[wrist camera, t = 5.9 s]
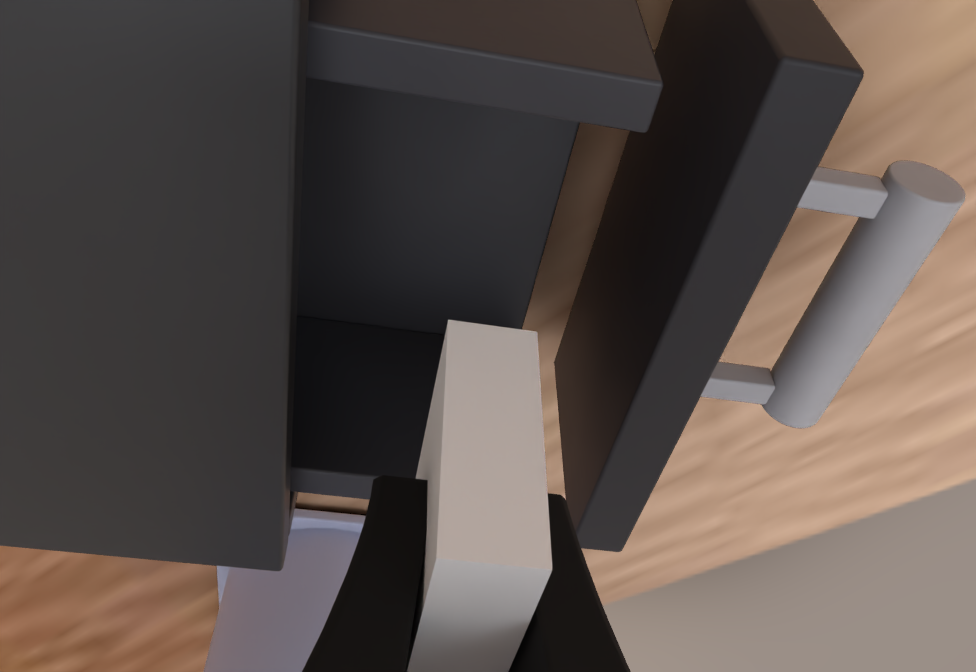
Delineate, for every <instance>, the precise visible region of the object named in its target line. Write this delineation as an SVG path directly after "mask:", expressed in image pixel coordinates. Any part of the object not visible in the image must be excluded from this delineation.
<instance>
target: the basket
mask: <svg viewBox="0 0 976 672" xmlns="http://www.w3.org/2000/svg"><path fill="white" fill-rule="evenodd" d="M863 74H864V71H863V69H862V68H861V67H860V65H859V64H858V62H857V61H856V60H855V58H854V57H853V55H852V54H851V53H850V51H849V50H848V48H847V47H846V46H845V44H844V43H843V42H842V40H841V39H840V37H839V36H838V35H837V33H836V32H835V30H834V29H833V28H832V26H831V25H830V23H829V22H828V21H827V19H826V18H825V16H824V15H823V14H822V12H821V11H820V9H819V8H818V7H817V5H816V4H815V2H814V1H813V0H673V1H672V4H671V7H670V10H669V13H668V16H667V19H666V22H665V25H664V28H663V31H662V34H661V37H660V40H659V44H658V47H657V50H656V53H655V56H654V53H653V50H652V47H651V44H650V41H649V38H648V35H647V32H646V29H645V26H644V23H643V19H642V16H641V13H640V10H639V7H638V4H637V1H636V0H309V15H308V41H307V67H306V93H305V119H304V145H303V170H302V196H301V222H300V248H299V274H298V300H297V326H296V352H295V378H294V404H293V429H292V455H291V481H290V491H294V492H303V493H313V494H322V495H332V496H341V497H351V498H361V499H370V497H371V490H372V484H373V479H375V478H377V477H379V476H382V475H387V476H396V477H405V478H414V479H415V478H416V474H417V469H418V464H419V459H420V454H421V449H422V444H423V440H424V435H425V430H426V425H427V420H428V415H429V410H430V406H431V401H432V396H433V391H434V386H435V381H436V376H437V371H438V367H439V362H440V357H441V352H442V347H443V342H444V337H445V333H446V328H447V323H448V320H455V321H462V322H470V323H477V324H484V325H492V326H499V327H506V328H514V329H521V330H522V327H523V323H524V320H525V316H526V312H527V309H528V305H529V302H530V298H531V295H532V291H533V288H534V284H535V280H536V277H537V273H538V270H539V266H540V263H541V259H542V256H543V252H544V248H545V245H546V241H547V238H548V234H549V231H550V227H551V223H552V220H553V216H554V213H555V209H556V206H557V202H558V199H559V195H560V191H561V188H562V184H563V181H564V177H565V174H566V170H567V167H568V163H569V159H570V156H571V152H572V149H573V145H574V142H575V138H576V134H577V131H578V127H579V124H580V122H581V123H587V124H593V125H599V126H605V127H611V128H617V129H623V130H630V132H629V135H628V138H627V141H626V144H625V147H624V150H623V154H622V157H621V160H620V163H619V166H618V169H617V172H616V175H615V178H614V181H613V184H612V187H611V190H610V193H609V196H608V199H607V202H606V205H605V209H604V212H603V215H602V218H601V221H600V224H599V227H598V230H597V233H596V236H595V239H594V242H593V245H592V248H591V251H590V254H589V257H588V260H587V263H586V267H585V270H584V273H583V276H582V279H581V282H580V285H579V288H578V291H577V294H576V297H575V300H574V303H573V306H572V309H571V312H570V315H569V318H568V322H567V325H566V328H565V331H564V334H563V337H562V340H561V343H560V346H559V349H558V352H557V355H556V358H555V361H554V364H555V376H556V388H557V400H558V412H559V423H560V435H561V447H562V459H563V471H564V482H565V494H566V501H567V505H568V509H569V512H570V515H571V519H572V522H573V525H574V528H575V531H576V535H577V538H578V541H579V544H580V547H581V548H584V549H594V550H604V551H614V552H620V551H622V549H623V547H624V545H625V544H626V542H627V540H628V538H629V536H630V534H631V532H632V530H633V528H634V526H635V524H636V522H637V520H638V518H639V516H640V514H641V512H642V510H643V508H644V506H645V504H646V502H647V500H648V498H649V496H650V494H651V492H652V491H653V489H654V487H655V485H656V483H657V481H658V479H659V477H660V475H661V473H662V471H663V469H664V467H665V465H666V463H667V461H668V459H669V457H670V455H671V453H672V451H673V449H674V447H675V445H676V443H677V441H678V440H679V438H680V436H681V434H682V432H683V430H684V428H685V426H686V424H687V422H688V420H689V418H690V416H691V414H692V412H693V410H694V408H695V406H696V404H697V402H698V400H699V398H700V397H708V398H716V399H724V400H732V401H740V402H748V403H756V404H761V405H762V406H763V408H764V409H765V411H766V412H767V413H768V414H769V415H770V416H771V417H773V418H774V419H775V420H777V421H778V422H780V423H782V424H784V425H787V426H790V427H794V428H808V427H811V426H813V425H815V424H816V423H817V422H818V420H819V419H820V417H821V416H822V414H823V413H824V411H825V410H826V408H827V407H828V405H829V404H830V402H831V401H832V399H833V398H834V396H835V395H836V393H837V392H838V390H839V389H840V387H841V386H842V384H843V383H844V381H845V380H846V378H847V377H848V375H849V374H850V372H851V371H852V369H853V368H854V366H855V365H856V363H857V362H858V360H859V359H860V357H861V356H862V354H863V353H864V351H865V350H866V348H867V347H868V345H869V344H870V342H871V341H872V339H873V338H874V336H875V335H876V333H877V332H878V330H879V329H880V327H881V326H882V324H883V323H884V321H885V320H886V318H887V317H888V315H889V314H890V312H891V311H892V309H893V308H894V306H895V305H896V303H897V302H898V300H899V299H900V297H901V296H902V294H903V293H904V291H905V290H906V288H907V287H908V285H909V284H910V282H911V281H912V279H913V278H914V276H915V275H916V273H917V272H918V270H919V269H920V267H921V266H922V264H923V263H924V261H925V260H926V258H927V257H928V255H929V254H930V252H931V250H932V249H933V247H934V246H935V244H936V243H937V241H938V240H939V238H940V237H941V235H942V234H943V232H944V231H945V229H946V228H947V226H948V225H949V223H950V222H951V220H952V219H953V217H954V216H955V214H956V213H957V211H958V210H959V208H960V207H961V205H962V204H963V202H964V200H965V192H964V190H963V188H962V187H961V185H960V184H959V183H958V182H957V181H955V180H954V179H953V178H952V177H950V176H949V175H947V174H945V173H944V172H942V171H940V170H938V169H936V168H934V167H931V166H928V165H926V164H922V163H919V162H914V161H905V160H904V161H896V162H894V163H892V164H891V165H889V166H888V168H887V170H886V171H885V173H884V175H883V177H882V178H881V180H880V178H878V177H877V176H871V175H865V174H859V173H853V172H847V171H841V170H835V169H829V168H822V167H818V165H819V163H820V161H821V159H822V157H823V155H824V153H825V151H826V149H827V147H828V145H829V143H830V141H831V139H832V137H833V135H834V133H835V132H836V130H837V128H838V126H839V124H840V122H841V120H842V118H843V116H844V114H845V112H846V110H847V108H848V106H849V104H850V102H851V100H852V98H853V96H854V94H855V92H856V90H857V88H858V86H859V84H860V82H861V81H862V79H863ZM797 207H798V208H805V209H811V210H817V211H824V212H830V213H836V214H843V215H849V216H856V217H859V218H858V220H857V222H856V224H855V225H854V227H853V229H852V231H851V232H850V234H849V236H848V238H847V239H846V241H845V243H844V245H843V246H842V248H841V250H840V252H839V253H838V255H837V257H836V258H835V260H834V262H833V264H832V265H831V267H830V269H829V271H828V272H827V274H826V276H825V278H824V279H823V281H822V283H821V285H820V286H819V288H818V290H817V292H816V293H815V295H814V297H813V299H812V300H811V302H810V304H809V305H808V307H807V309H806V311H805V312H804V314H803V316H802V318H801V319H800V321H799V323H798V325H797V326H796V328H795V330H794V332H793V333H792V335H791V337H790V339H789V340H788V342H787V344H786V346H785V347H784V349H783V351H782V352H781V354H780V356H779V358H778V359H777V361H776V363H775V365H774V366H773V368H772V370H771V372H770V369H768V368H763V367H755V366H747V365H740V364H732V363H724V362H718V361H719V359H720V357H721V355H722V353H723V351H724V349H725V347H726V345H727V343H728V341H729V339H730V338H731V336H732V334H733V332H734V330H735V328H736V326H737V324H738V322H739V320H740V318H741V316H742V314H743V312H744V310H745V308H746V306H747V304H748V302H749V300H750V298H751V296H752V294H753V292H754V290H755V288H756V286H757V285H758V283H759V281H760V279H761V277H762V275H763V273H764V271H765V269H766V267H767V265H768V263H769V261H770V259H771V257H772V255H773V253H774V251H775V249H776V247H777V245H778V243H779V241H780V239H781V237H782V235H783V234H784V232H785V230H786V228H787V226H788V224H789V222H790V220H791V218H792V216H793V214H794V212H795V210H796V208H797Z"/></svg>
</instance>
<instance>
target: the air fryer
mask: <svg viewBox="0 0 976 672" xmlns="http://www.w3.org/2000/svg"><path fill="white" fill-rule="evenodd" d="M308 15H309V0H0V546H11V547H21V548H32V549H43V550H53V551H64V552H75V553H86V554H96V555H107V556H118V557H128V558H139V559H150V560H160V561H171V562H182V563H192V564H203V565H214V566H224V567H235V568H246V569H257V570H267V571H281V570H282V568H283V566H284V561H285V556H286V550H287V545H288V536H289V534H290V530H291V525H292V520H293V515H294V510H295V505H296V500H297V495H298V492H294V491H290V481H291V455H292V429H293V404H294V378H295V352H296V326H297V300H298V274H299V248H300V222H301V196H302V170H303V145H304V119H305V93H306V67H307V41H308Z"/></svg>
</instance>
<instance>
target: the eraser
mask: <svg viewBox="0 0 976 672" xmlns="http://www.w3.org/2000/svg"><path fill="white" fill-rule="evenodd" d="M415 479H423V480H428V491H427V534H426V542H425V548H424V555H423V561H422V568H421V574H420V581H419V587H418V593H417V600H416V606H415V613H414V619H413V625H412V632H411V638H410V645H409V651H408V657H407V664H406V670H405V672H508V671H509V669H510V667H511V665H512V662H513V660H514V658H515V655H516V653H517V651H518V648H519V646H520V644H521V641H522V639H523V637H524V634H525V632H526V630H527V628H528V625H529V623H530V621H531V618H532V616H533V614H534V611H535V609H536V607H537V604H538V602H539V600H540V598H541V595H542V593H543V591H544V588H545V586H546V584H547V581H548V579H549V577H550V574H551V572H552V555H551V539H550V523H549V508H548V492H547V476H546V461H545V445H544V429H543V414H542V398H541V382H540V367H539V351H538V335H537V332H536V331H528V330H521V329H514V328H506V327H499V326H492V325H484V324H477V323H470V322H462V321H455V320H448V323H447V328H446V333H445V337H444V342H443V347H442V352H441V357H440V362H439V367H438V371H437V376H436V381H435V386H434V391H433V396H432V401H431V406H430V410H429V415H428V420H427V425H426V430H425V435H424V440H423V444H422V449H421V454H420V459H419V464H418V469H417V474H416V478H415Z"/></svg>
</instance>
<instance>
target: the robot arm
mask: <svg viewBox="0 0 976 672" xmlns="http://www.w3.org/2000/svg"><path fill="white" fill-rule="evenodd" d="M427 491H428V480H423V479H414V478H405V477H396V476H387V475H382V476H379V477H377V478H375V479H373V484H372V490H371V497H370V501H369V505H368V509H367V513H366V516H365V515H355V514H345V513H336V512H326V511H316V510H306V509H297V508H295V510H294V515H293V520H292V525H291V530H290V534H289V536H288V545H287V550H286V556H285V561H284V566H283V568H282V570H281V571H267V570H257V569H246V568H235V567H224V566H217V579H218V595H219V611H218V615H217V619H216V623H215V627H214V631H213V635H212V639H211V643H210V647H209V651H208V656H207V660H206V664H205V668H204V672H405V670H406V664H407V657H408V651H409V645H410V638H411V632H412V625H413V619H414V613H415V606H416V600H417V593H418V587H419V581H420V574H421V568H422V561H423V555H424V548H425V542H426V534H427ZM548 508H549V523H550V539H551V555H552V572H551V574H550V577H549V579H548V581H547V584H546V586H545V588H544V591H543V593H542V595H541V598H540V600H539V602H538V604H537V607H536V609H535V611H534V614H533V616H532V618H531V621H530V623H529V625H528V628H527V630H526V632H525V634H524V637H523V639H522V641H521V644H520V646H519V648H518V651H517V653H516V655H515V658H514V660H513V662H512V665H511V667H510V669H509V671H508V672H630V669H629V667H628V665H627V663H626V660H625V658H624V656H623V653H622V651H621V649H620V647H619V644H618V642H617V640H616V637H615V635H614V632H613V630H612V628H611V626H610V623H609V621H608V619H607V616H606V614H605V611H604V609H603V606H602V604H601V601H600V598H599V596H598V593H597V591H596V588H595V585H594V583H593V580H592V577H591V575H590V572H589V569H588V567H587V564H586V561H585V558H584V555H583V552H582V550H581V547H580V544H579V541H578V538H577V535H576V531H575V528H574V525H573V522H572V519H571V515H570V512H569V509H568V505H567V501H566V500H565V499H564V498H563V497H562V496H561V495H557V494H548Z"/></svg>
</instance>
